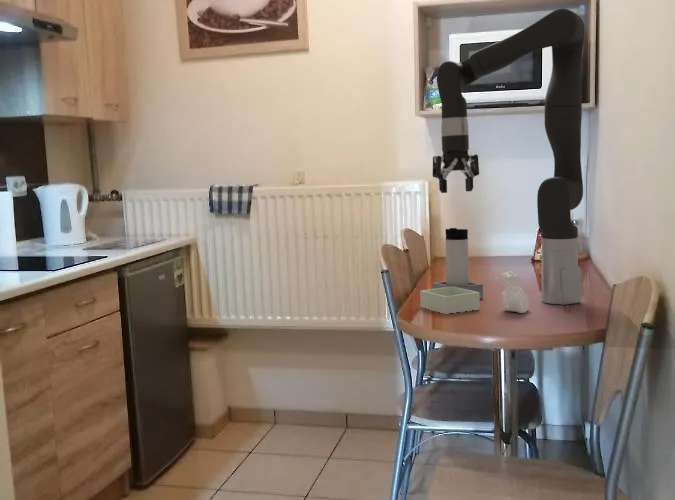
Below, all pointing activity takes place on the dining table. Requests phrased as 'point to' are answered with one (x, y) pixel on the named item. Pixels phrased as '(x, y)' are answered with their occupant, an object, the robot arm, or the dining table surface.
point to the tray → (450, 300)
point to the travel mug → (457, 257)
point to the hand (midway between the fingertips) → (456, 192)
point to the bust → (513, 293)
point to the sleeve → (471, 286)
